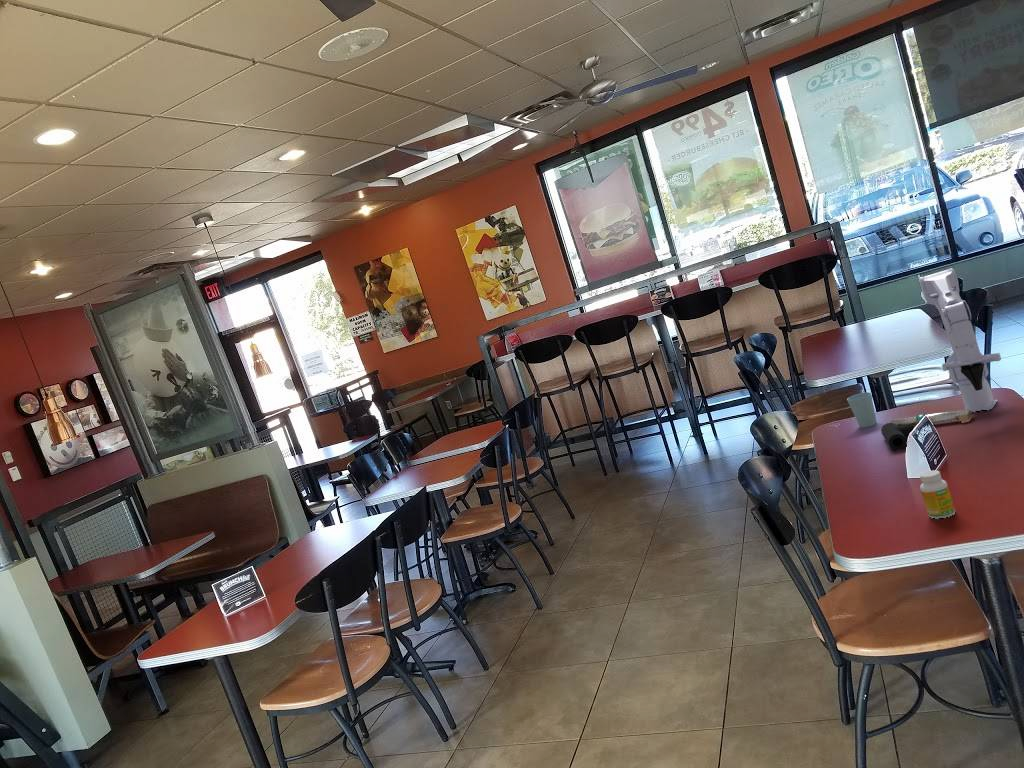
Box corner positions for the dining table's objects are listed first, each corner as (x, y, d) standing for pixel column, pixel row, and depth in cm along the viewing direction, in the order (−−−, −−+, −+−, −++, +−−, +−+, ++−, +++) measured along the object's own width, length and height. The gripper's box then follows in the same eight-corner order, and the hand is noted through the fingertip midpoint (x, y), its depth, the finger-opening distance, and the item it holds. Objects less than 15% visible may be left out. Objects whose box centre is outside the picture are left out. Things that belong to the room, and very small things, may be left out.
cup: (851, 429, 262) (842, 400, 261) (865, 421, 265) (856, 393, 264) (869, 428, 255) (860, 399, 254) (884, 420, 258) (875, 391, 258)
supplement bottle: (945, 520, 166) (931, 478, 165) (923, 518, 171) (910, 477, 170) (961, 511, 168) (948, 469, 167) (940, 509, 173) (927, 468, 172)
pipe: (891, 432, 242) (887, 422, 242) (896, 427, 246) (892, 417, 245) (969, 422, 226) (965, 410, 226) (973, 417, 230) (969, 405, 229)
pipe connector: (918, 414, 234) (928, 425, 220) (924, 430, 234) (934, 442, 220) (878, 425, 238) (885, 436, 224) (884, 441, 238) (891, 453, 224)
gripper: (934, 353, 221) (948, 397, 222) (990, 341, 211) (1004, 388, 212) (941, 347, 226) (954, 390, 227) (996, 335, 216) (1010, 381, 217)
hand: (979, 389), depth 220 cm, fingers closed
